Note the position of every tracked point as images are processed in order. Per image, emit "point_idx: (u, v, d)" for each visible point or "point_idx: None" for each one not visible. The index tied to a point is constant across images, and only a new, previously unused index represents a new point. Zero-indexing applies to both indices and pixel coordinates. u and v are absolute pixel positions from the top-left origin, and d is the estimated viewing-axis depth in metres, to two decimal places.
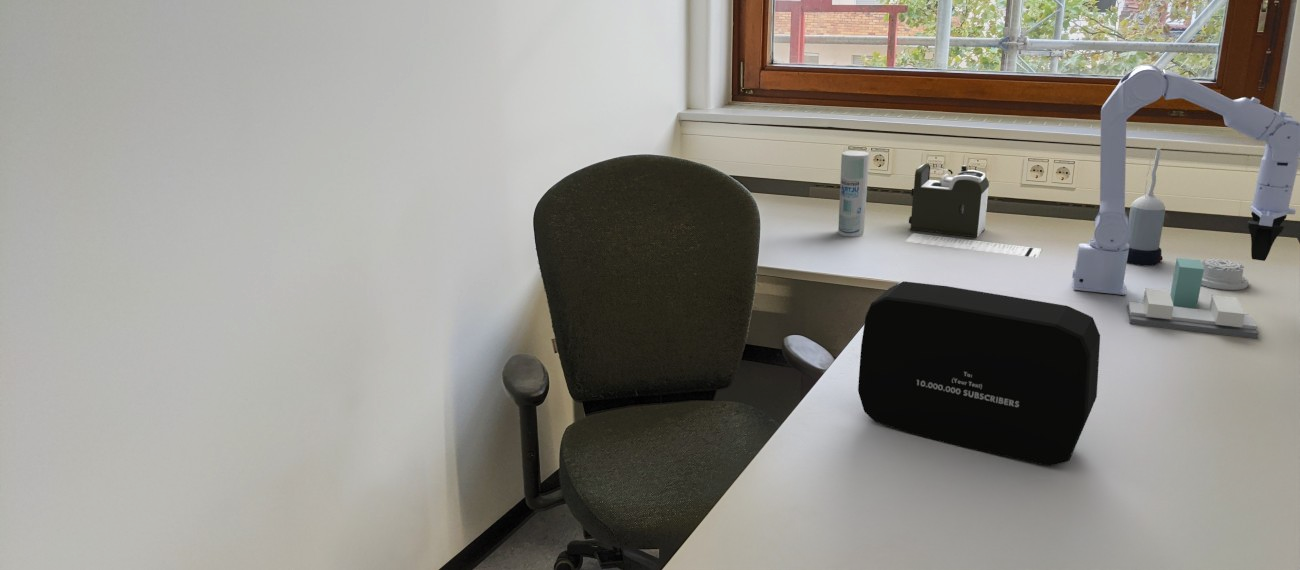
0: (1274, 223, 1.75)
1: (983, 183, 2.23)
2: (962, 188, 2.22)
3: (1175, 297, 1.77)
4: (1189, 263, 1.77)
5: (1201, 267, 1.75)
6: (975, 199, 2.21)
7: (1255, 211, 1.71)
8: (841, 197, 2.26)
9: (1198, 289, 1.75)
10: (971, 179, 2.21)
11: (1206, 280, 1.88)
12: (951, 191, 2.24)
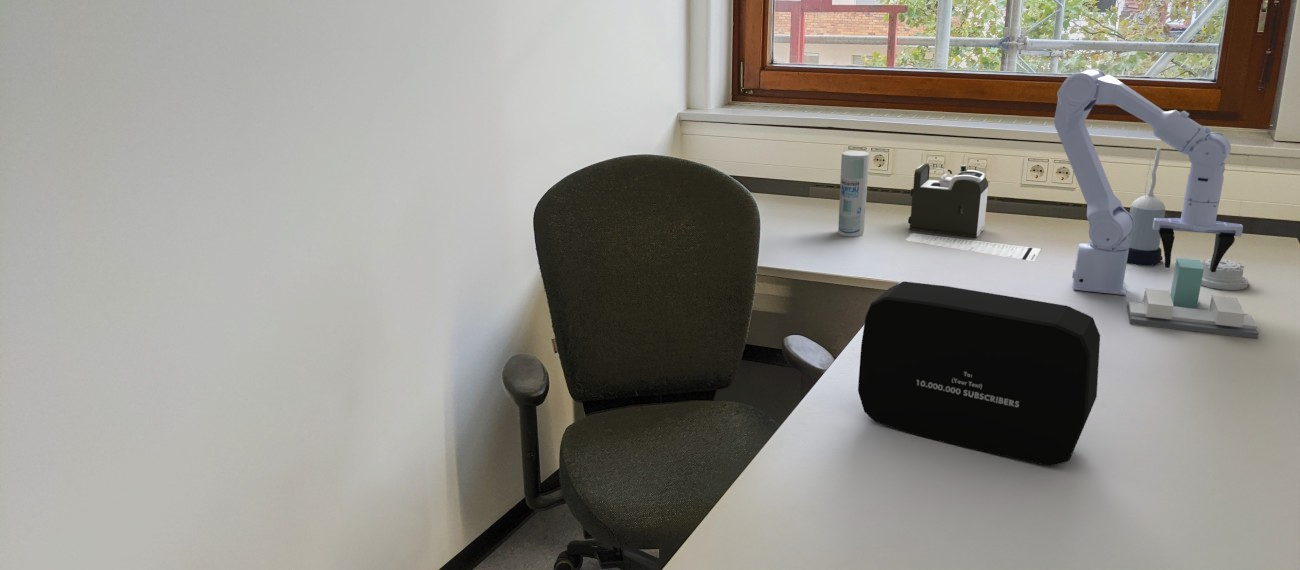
0: (1217, 245, 1.73)
1: (982, 183, 2.23)
2: (961, 188, 2.22)
3: (1175, 297, 1.77)
4: (1188, 263, 1.77)
5: (1201, 267, 1.75)
6: (974, 199, 2.21)
7: None
8: (841, 197, 2.26)
9: (1198, 289, 1.75)
10: (970, 179, 2.21)
11: (1206, 280, 1.88)
12: (950, 191, 2.24)
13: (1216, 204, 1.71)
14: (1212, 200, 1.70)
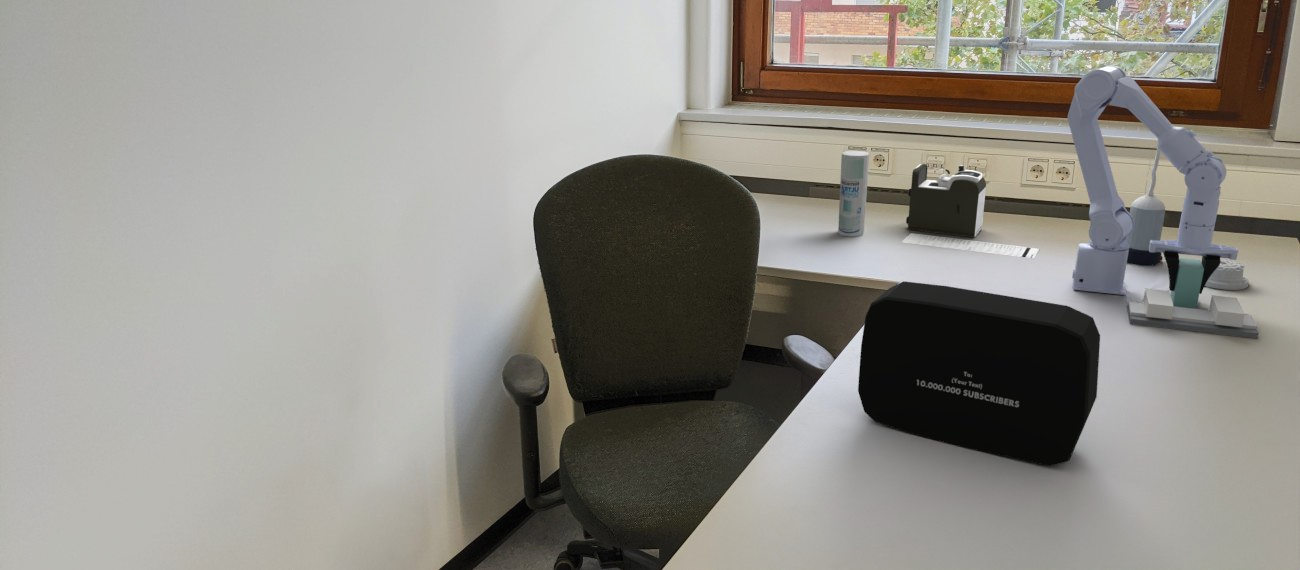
0: (1203, 267, 1.75)
1: (980, 183, 2.23)
2: (959, 188, 2.22)
3: (1175, 297, 1.77)
4: (1189, 263, 1.77)
5: (1201, 267, 1.75)
6: (972, 199, 2.21)
7: None
8: (841, 197, 2.26)
9: (1198, 289, 1.75)
10: (968, 179, 2.21)
11: None
12: (948, 191, 2.24)
13: (1212, 228, 1.72)
14: (1208, 224, 1.72)
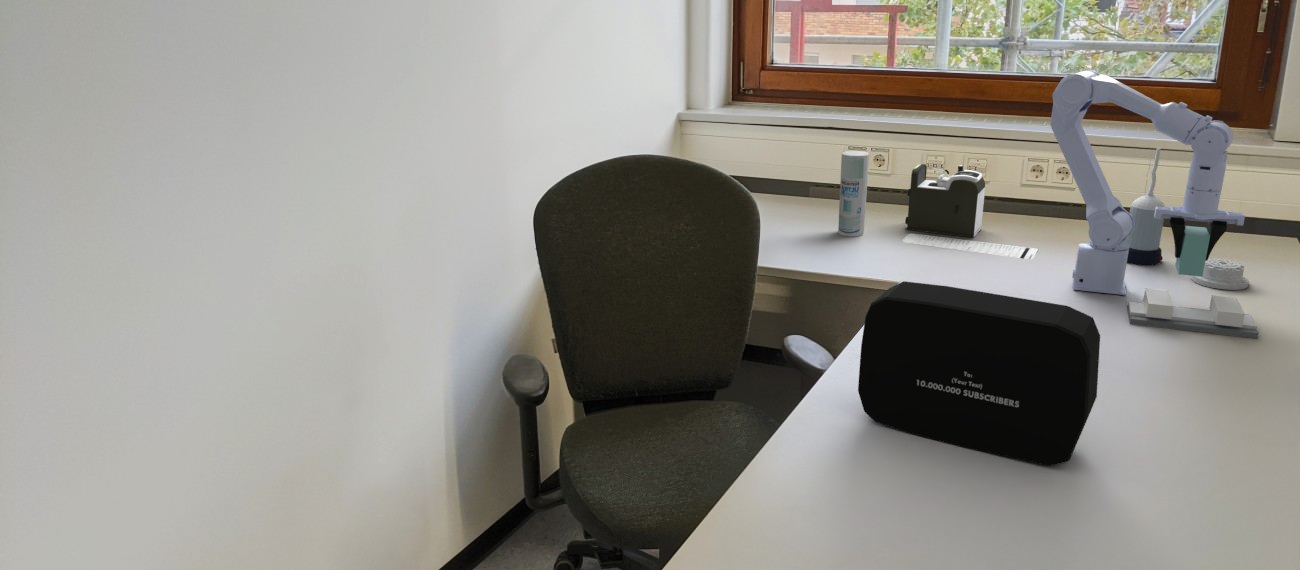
0: (1209, 233, 1.73)
1: (979, 183, 2.23)
2: (958, 188, 2.22)
3: (1181, 265, 1.75)
4: (1194, 230, 1.75)
5: (1207, 234, 1.73)
6: (971, 199, 2.21)
7: None
8: (841, 197, 2.26)
9: (1204, 256, 1.73)
10: (967, 179, 2.21)
11: (1207, 280, 1.88)
12: (947, 191, 2.24)
13: (1218, 193, 1.70)
14: (1214, 189, 1.70)
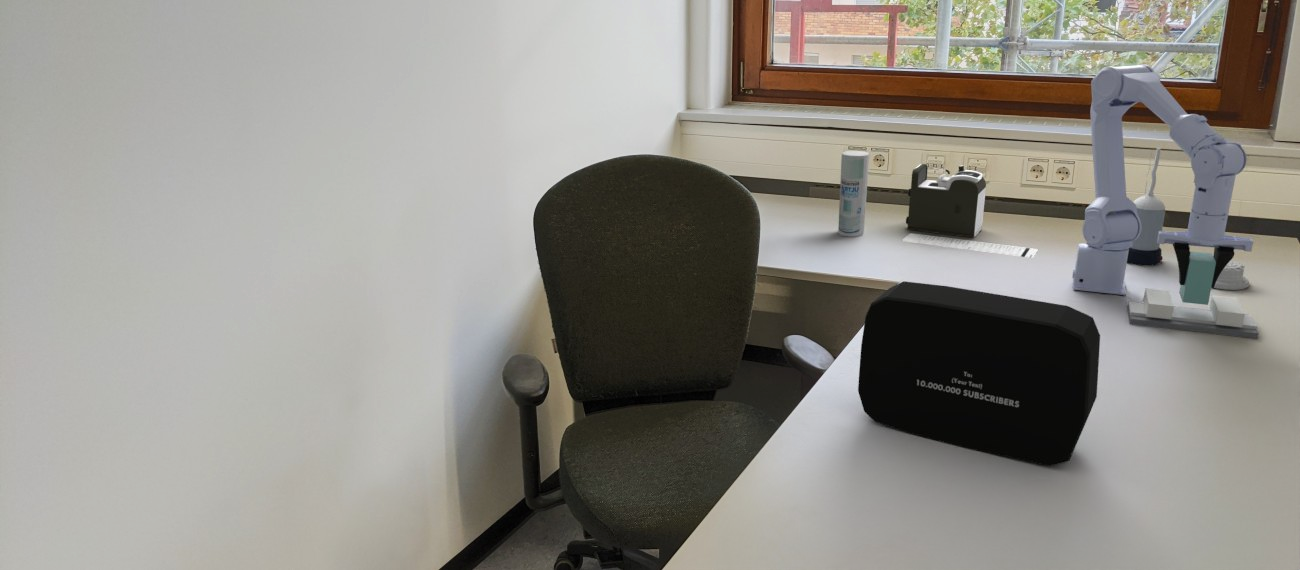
0: (1216, 259, 1.64)
1: (980, 183, 2.23)
2: (959, 188, 2.22)
3: (1185, 292, 1.66)
4: (1200, 256, 1.66)
5: (1213, 260, 1.64)
6: (971, 199, 2.21)
7: None
8: (841, 197, 2.26)
9: (1210, 284, 1.65)
10: (968, 179, 2.21)
11: None
12: (948, 191, 2.24)
13: (1225, 217, 1.61)
14: (1211, 213, 1.61)
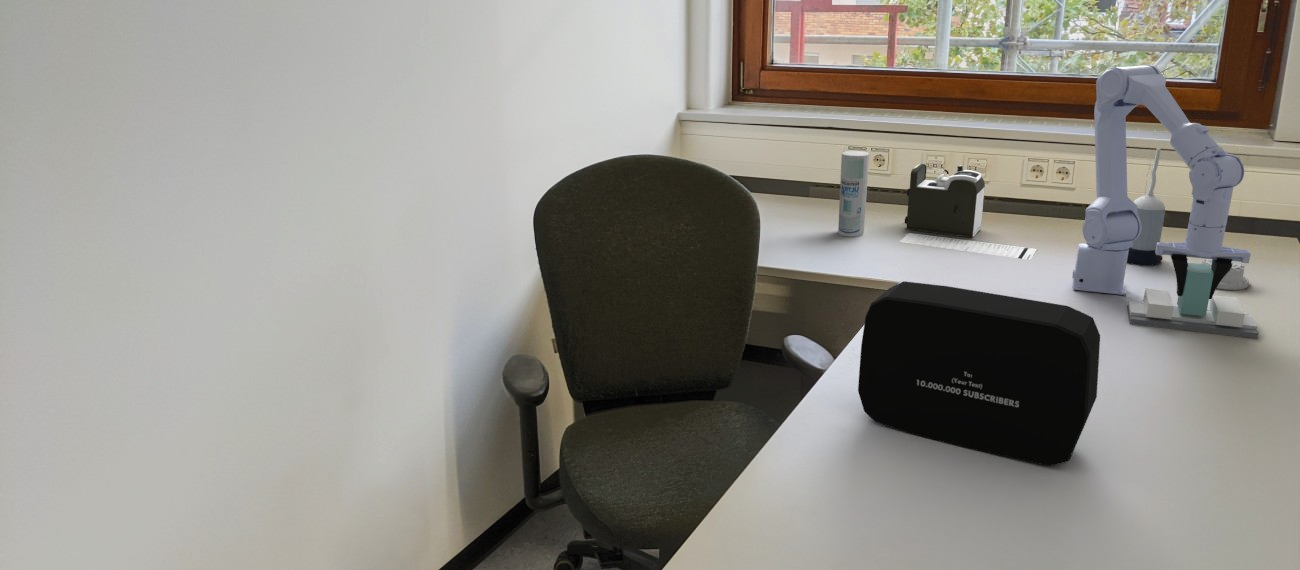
0: (1214, 271, 1.65)
1: (979, 183, 2.23)
2: (958, 188, 2.22)
3: (1183, 303, 1.67)
4: (1197, 268, 1.67)
5: (1210, 272, 1.65)
6: (970, 199, 2.21)
7: None
8: (841, 197, 2.26)
9: (1207, 295, 1.65)
10: (967, 179, 2.21)
11: None
12: (947, 191, 2.24)
13: (1222, 229, 1.62)
14: (1209, 225, 1.62)
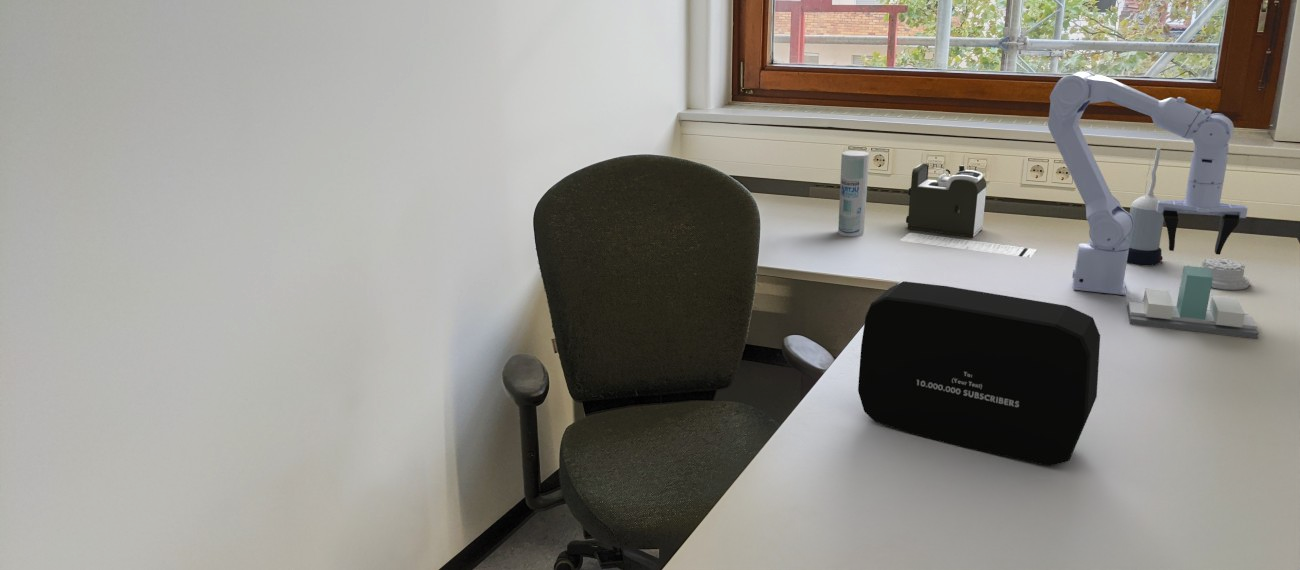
0: (1222, 226, 1.72)
1: (980, 183, 2.23)
2: (958, 188, 2.23)
3: (1182, 307, 1.67)
4: (1197, 271, 1.67)
5: (1210, 275, 1.65)
6: (971, 199, 2.22)
7: None
8: (841, 197, 2.26)
9: (1207, 299, 1.65)
10: (967, 179, 2.22)
11: None
12: (947, 191, 2.24)
13: (1220, 185, 1.70)
14: (1216, 181, 1.69)
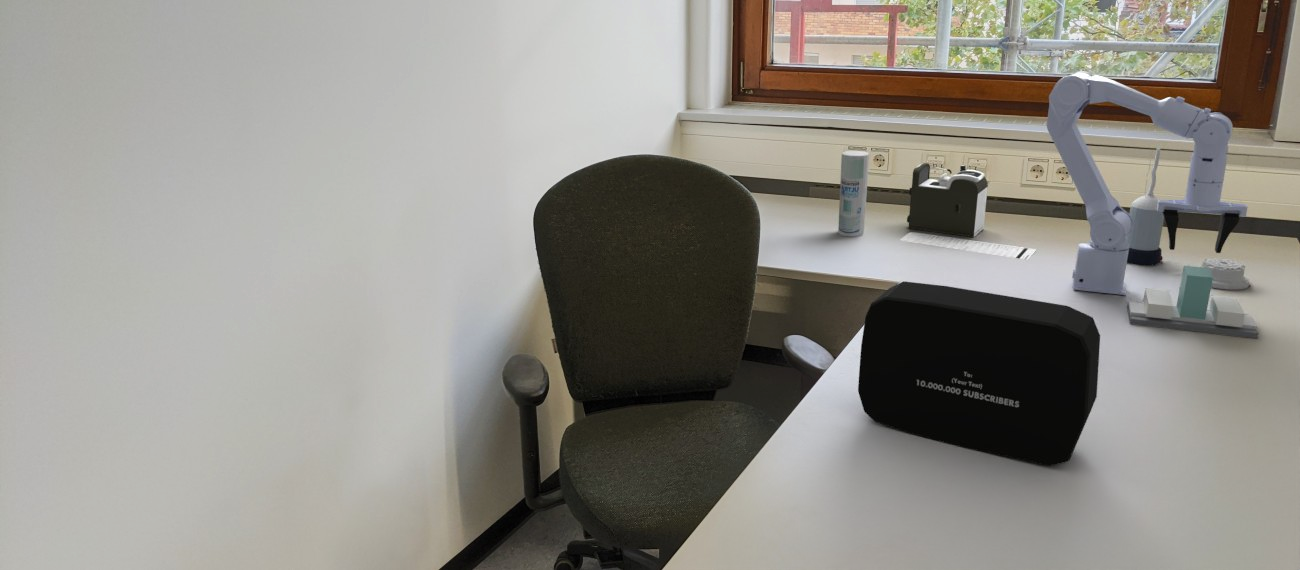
0: (1222, 225, 1.73)
1: (981, 183, 2.23)
2: (959, 188, 2.23)
3: (1182, 307, 1.67)
4: (1197, 271, 1.67)
5: (1210, 275, 1.65)
6: (971, 199, 2.22)
7: None
8: (841, 197, 2.26)
9: (1207, 299, 1.65)
10: (968, 179, 2.22)
11: None
12: (948, 190, 2.24)
13: (1220, 184, 1.70)
14: (1217, 180, 1.70)
